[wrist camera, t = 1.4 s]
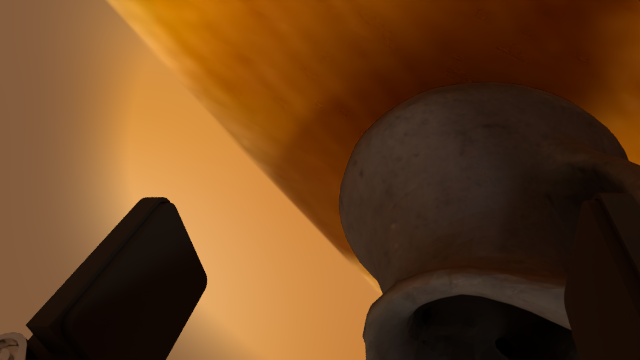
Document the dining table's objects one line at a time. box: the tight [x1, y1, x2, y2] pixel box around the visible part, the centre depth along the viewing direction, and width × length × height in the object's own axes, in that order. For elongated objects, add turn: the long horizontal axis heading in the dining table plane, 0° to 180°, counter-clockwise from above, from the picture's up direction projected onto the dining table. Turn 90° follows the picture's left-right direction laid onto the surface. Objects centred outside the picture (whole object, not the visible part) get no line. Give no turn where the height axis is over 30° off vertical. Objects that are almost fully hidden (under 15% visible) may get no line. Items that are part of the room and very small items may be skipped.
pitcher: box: [339, 82, 640, 360], centre depth 30 cm, size 21×22×25 cm
